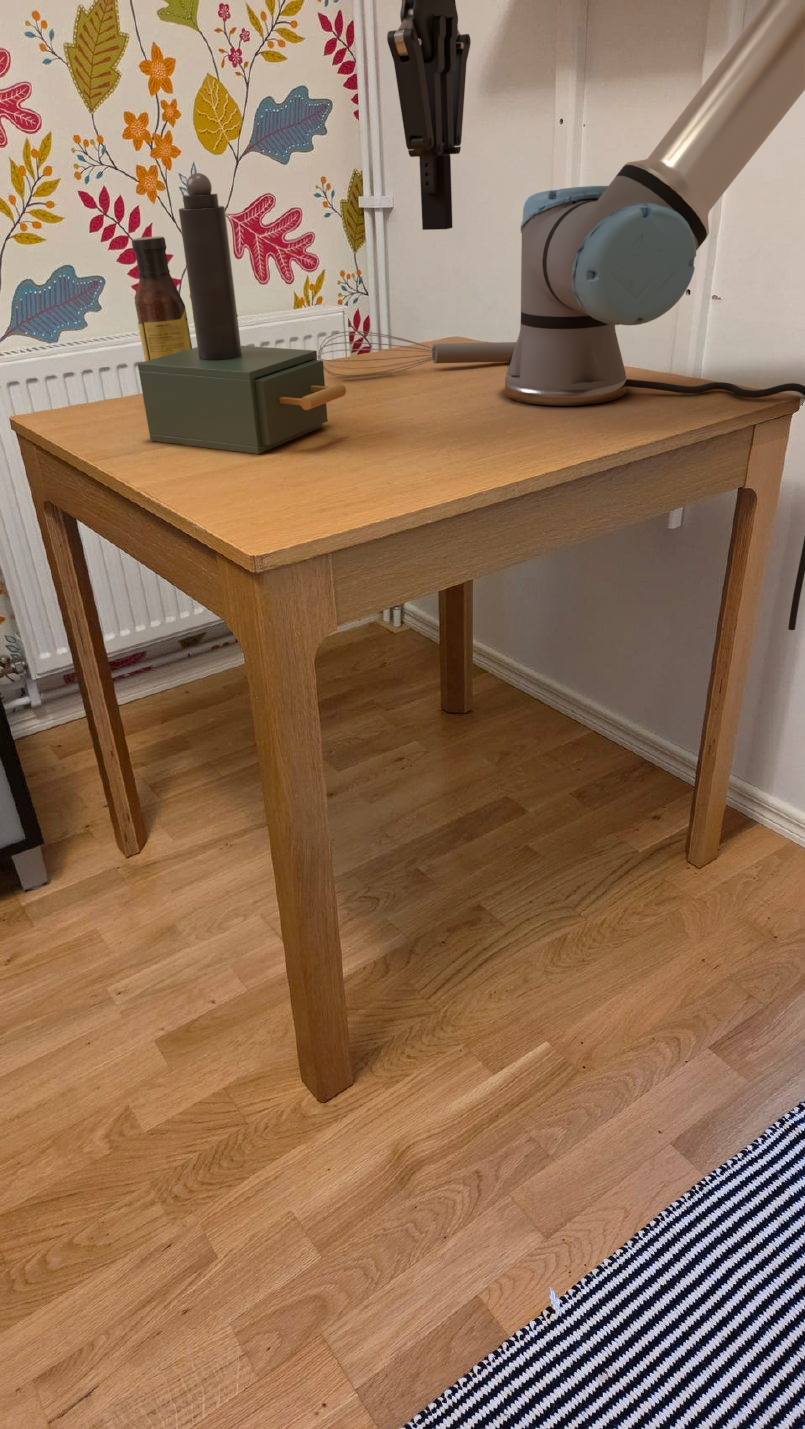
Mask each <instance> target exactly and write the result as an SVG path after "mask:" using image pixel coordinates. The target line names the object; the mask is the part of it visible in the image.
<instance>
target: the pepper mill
mask: <svg viewBox="0 0 805 1429" xmlns="http://www.w3.org/2000/svg"><path fill="white" fill-rule="evenodd" d="M185 188H186V192H187V194H183V195H182V201H183V207H180V208H178V215H179V223H180V229H181V237H182V244H183V245H182V246H183V251H184V259H185V265H186V273H187V280H188V289H189V295H190V303H191V309H192V310H191V311H192V316H193V317H192V318H193V324H194V332H195V338H196V347H198V354H199V358H200V359H202V360H227V359H233V358H237V357H240V356H241V355H242V352H241V346H242V344H241V336H240V327H239V318H238V308H237V302H236V301H237V300H236V292H235V283H234V276H233V266H232V259H231V258H232V257H231V251H230V250H231V249H230V242H229V233H228V224H227V216H226V206H224V205H220V204H219V197H218V193H212V190H213V189H212V183H211V180H210V178H209V177H208V176H207V175H205V174H204V173H201V172H195V173H192V174H191V175H189V177H188V178H187V180H186V182H185Z"/></svg>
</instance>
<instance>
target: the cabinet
mask: <svg viewBox="0 0 805 1429" xmlns="http://www.w3.org/2000/svg"><path fill="white" fill-rule="evenodd" d="M241 352H242V355H241V356H240V357H237V358H233V359H227V360H202V359H200V358H199V354H198V347H197V346H196V347H192V349H188V350H185V351H181V352H178V353H174V354H170V355H167V356H163V357H159V358H156V359H152V360H148V361H145V360H144V361H142V362H138V363H137V369H138V375H139V380H140V386H141V392H142V393H141V394H142V398H143V404H144V410H145V417H146V422H147V427H148V434H149V439H150V441H151V442H158V443H167V444H174V445H183V446H189V447H196V448H197V447H198V448H206V449H213V450H222V451H229V452H236V453H237V452H238V453H247V454H253V455H260V454H263V453H265V452H267V451H269V450H272V449H274V448H277V447H279V446H281V445H283V444H286V443H288V442H290V441H292V440H295V439H298V438H300V437H302V436H305V435H306V434H309V433H311V432H314V431H315V430H319V429H321V428H323V423H322V424H319V425H317V426H315V427H312V428H310V429H308V430H305V431H303V432H301V433H298V434H296V435H293V436H291V437H289V438H286V439H284V440H282V441H279V442H277V443H275V444H272V445H262V444H261V437H260V428H259V419H258V410H257V401H256V392H255V383H254V380H255V378H258V377H261V376H264V375H267V374H270V373H273V372H276V371H279V370H282V369H285V368H288V367H291V366H294V365H297V364H300V363H302V364H304V363H307V362H310V361H313V360H318V351H317V350H316V349H315V350H313V349H300V348H299V349H298V348H283V347H268V346H254V345H253V346H252V345H250V346H249V345H241Z"/></svg>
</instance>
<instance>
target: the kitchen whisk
mask: <svg viewBox="0 0 805 1429" xmlns="http://www.w3.org/2000/svg"><path fill="white" fill-rule="evenodd" d="M344 333H347V334H344ZM339 334H341V335H339ZM342 334H343V335H342ZM336 335H338V336H336ZM333 336H335V337H333ZM347 336H372V337H373V336H374V337H381V338H387V339H393V340H397V341H402V342H406V343H410V344H415V345H418V346H421V347H425V348H420V347H413V346H406V345H398V344H390V343H389V344H388V343H377V342H363V341H362V342H361V341H360V342H359V341H347V342H346V341H345V342H344V341H343V342H333V343H329V342H330V341H333V340H335V339H337V338H341V337H347ZM330 337H332V338H330ZM329 338H330V339H329ZM327 339H328V340H327ZM326 340H327V341H326ZM328 343H329V344H328ZM516 343H517V341H506V342H505V341H501V342H497V341H496V342H452V343H451V342H450V343H449V342H446V343H433V344H432V346H429V345H426V344H423V343H419V342H417V341H413V340H411V339H407V338H403V337H399V336H393V335H388V334H384V333H383V334H382V333H379V332H372V331H363V330H349V331H347V330H345V331H339V332H335V333H332V334H331V335H328V336H326V337H325V338H324V339H323V341H322V342H321V344H320V345H319V348H318V352H317V360H322V361H323V364H325V365H327V366H329V367H333V368H337V369H346V370H361V369H362V370H364V369H377V368H385V367H392V366H398V365H404V366H400V367H396V368H391V369H387V370H382V371H376V372H370V373H363V374H340V373H335V372H333V371H330V370H328V369H326V367H325V366H324V365H323V368H324V371H325V372H327V374H328V375H330V376H333V377H335V378H338V379H344V380H367V379H373V378H374V379H375V378H379V377H383V376H387V375H393V374H395V373H399V372H402V371H406V370H408V369H411V368H415V367H418V366H420V365H423V364H426V363H429V362H431V361H432V363H433V364H469V363H471V364H472V363H509V359H510V357H511V356H512V355H513V352H514V349H515V346H516ZM340 344H363V345H364V344H366V345H379V346H380V345H381V346H392V347H400V348H407V349H394V348H393V349H392V348H391V349H389V348H347V349H336V350H329V351H328V350H327V351H324V352H323V350H324V348H325V347H329V346H332V345H340ZM427 348H428V349H427ZM343 351H394V352H395V351H398V352H418V353H430V354H422V355H413V356H400V357H387V358H372V359H352V360H350V359H349V360H348V359H346V360H335V359H333V360H332V359H323V358H322V357H321V356H322V355H324V354H328V353H333V352H343ZM420 357H425V358H420ZM409 358H420V359H415V360H410V361H405V362H399V363H393V364H386V365H377V366H368V367H367V366H365V367H345V366H338V365H337V366H336V365H334V364H333V365H332V364H330V363H327V362H366V361H367V362H369V361H383V360H397V359H409ZM408 363H411V364H408ZM406 364H407V365H406ZM402 368H403V369H402ZM391 371H392V372H391ZM385 372H389V373H385ZM382 373H385V374H382ZM375 374H380V375H375ZM369 375H375V376H369ZM358 376H359V377H358ZM360 376H368V377H360ZM349 377H350V378H349ZM351 377H352V378H351ZM353 377H355V378H353ZM356 377H357V378H356Z"/></svg>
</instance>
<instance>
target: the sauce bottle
mask: <svg viewBox="0 0 805 1429" xmlns="http://www.w3.org/2000/svg"><path fill="white" fill-rule="evenodd" d="M131 247H132V251H133V253H134V254H135V260H136V265H137V270H138V271H137V272H138V273H137V275H138V278H139V280H138V286H137V289H136V292H135V295H134V305H135V306H134V307H135V311H136V315H137V320H138V322H137V326H138V331H139V336H140V341H141V347H142V351H143V356H144V362H145V361H148V360H152V359H156V358H159V357H163V356H167V355H170V354H174V353H178V352H181V351H185V350H188V349H192V348H193V345H192V338H191V332H190V327H189V321H188V315H187V314H188V313H187V309H186V305H185V303H184V301H183V298H182V296H181V294H180V292H179V290H178V288H177V286H176V284H175V281H174V280H173V278H172V275H171V273H170V272H171V271H170V269H169V263H168V257H167V253H166V250H167V244H166V239H165V237H164V236H161V235H160V236H159V235H158V236H144V237H137V238H133V239H131Z"/></svg>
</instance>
